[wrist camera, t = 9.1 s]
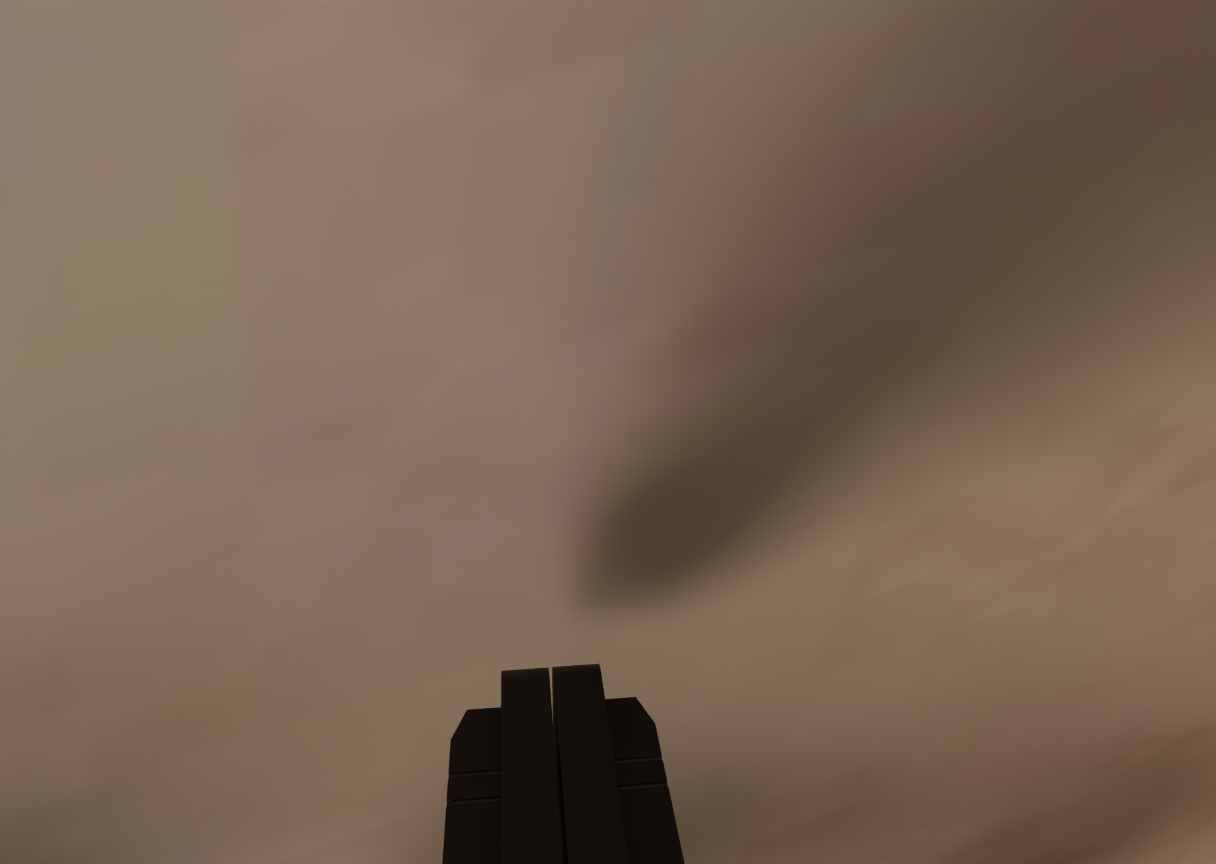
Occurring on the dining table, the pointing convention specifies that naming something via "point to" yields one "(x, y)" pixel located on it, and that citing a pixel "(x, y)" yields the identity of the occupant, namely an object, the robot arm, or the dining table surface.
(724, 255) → the dining table surface
